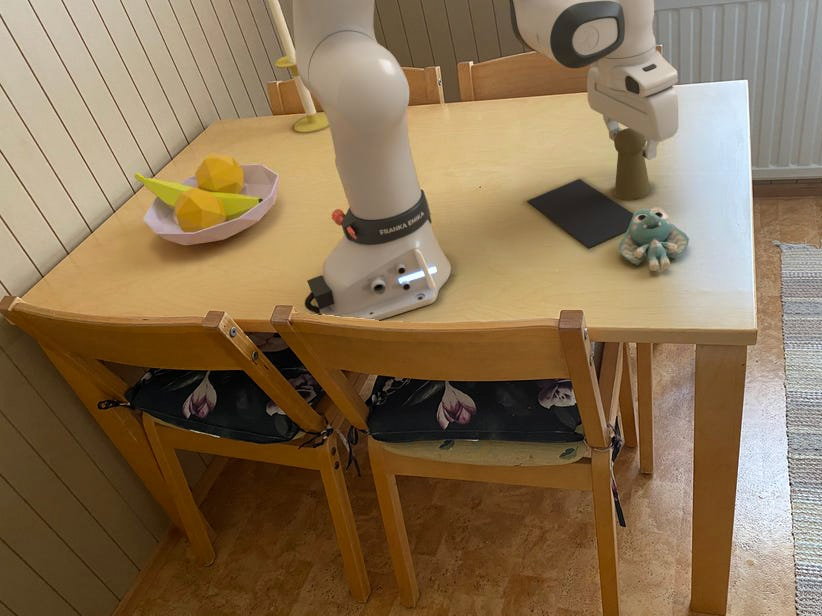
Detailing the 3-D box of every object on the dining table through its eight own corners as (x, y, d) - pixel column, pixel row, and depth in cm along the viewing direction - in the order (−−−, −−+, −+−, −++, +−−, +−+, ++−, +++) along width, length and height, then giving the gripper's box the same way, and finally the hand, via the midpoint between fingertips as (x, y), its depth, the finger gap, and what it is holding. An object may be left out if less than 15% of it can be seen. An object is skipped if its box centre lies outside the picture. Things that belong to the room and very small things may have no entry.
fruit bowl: (315, 198, 150) (296, 145, 143) (213, 273, 135) (186, 218, 127) (225, 179, 164) (204, 131, 157) (124, 245, 149) (96, 195, 142)
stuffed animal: (623, 253, 107) (610, 198, 115) (624, 287, 113) (612, 233, 120) (699, 241, 106) (681, 187, 113) (696, 276, 112) (680, 222, 119)
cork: (649, 198, 127) (647, 138, 120) (613, 200, 129) (609, 141, 122) (650, 181, 132) (648, 121, 124) (616, 183, 133) (612, 124, 126)
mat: (589, 248, 119) (588, 247, 119) (527, 202, 134) (527, 200, 134) (646, 223, 122) (645, 221, 122) (579, 180, 136) (579, 178, 136)
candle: (294, 120, 184) (244, -22, 163) (334, 110, 184) (288, -33, 163) (294, 136, 176) (241, -11, 155) (335, 126, 176) (288, -22, 155)
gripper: (574, 57, 123) (582, 135, 132) (649, 90, 108) (653, 175, 117) (606, 44, 124) (612, 123, 133) (685, 75, 110) (686, 161, 119)
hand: (632, 148), depth 125 cm, fingers open, 8 cm apart
